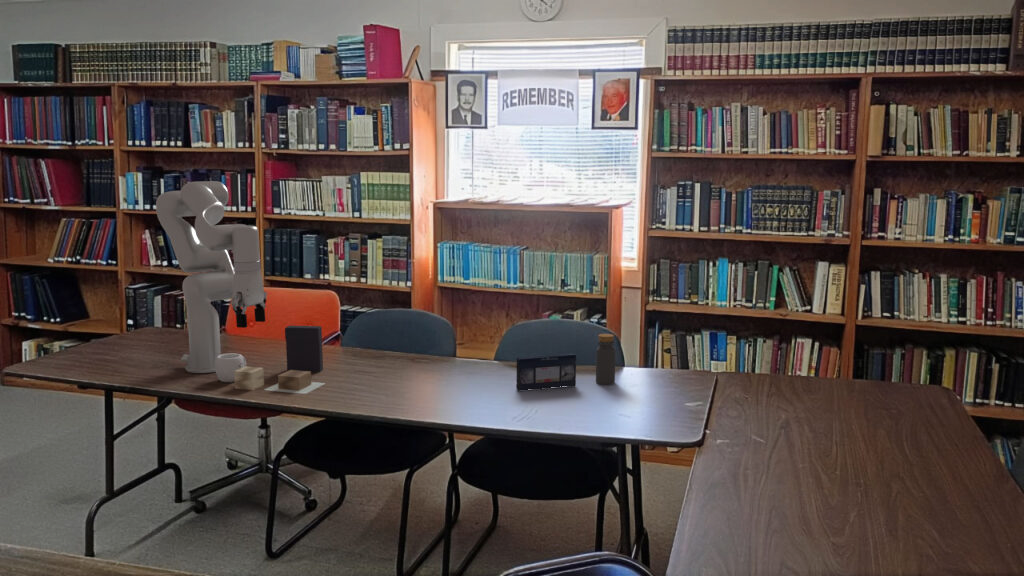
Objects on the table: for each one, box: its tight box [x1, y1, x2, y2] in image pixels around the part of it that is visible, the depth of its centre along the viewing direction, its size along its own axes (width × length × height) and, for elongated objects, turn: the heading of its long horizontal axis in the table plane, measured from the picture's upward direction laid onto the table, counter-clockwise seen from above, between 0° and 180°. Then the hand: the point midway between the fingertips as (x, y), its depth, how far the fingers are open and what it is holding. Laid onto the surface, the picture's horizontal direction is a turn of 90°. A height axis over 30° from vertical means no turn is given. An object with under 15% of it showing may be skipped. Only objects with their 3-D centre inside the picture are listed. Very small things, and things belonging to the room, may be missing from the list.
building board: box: [263, 381, 326, 395], centre depth 257 cm, size 14×12×1 cm
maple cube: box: [234, 365, 265, 391], centre depth 257 cm, size 6×6×6 cm
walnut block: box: [277, 370, 312, 391], centre depth 257 cm, size 7×7×4 cm
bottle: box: [595, 333, 616, 386], centre depth 264 cm, size 6×6×15 cm
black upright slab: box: [284, 325, 324, 373], centre depth 275 cm, size 11×4×15 cm, turn 84°
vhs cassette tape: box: [515, 353, 577, 391], centre depth 258 cm, size 18×3×10 cm, turn 105°
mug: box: [215, 352, 247, 383], centre depth 267 cm, size 12×8×8 cm
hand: (251, 324), depth 256 cm, fingers open, 9 cm apart
